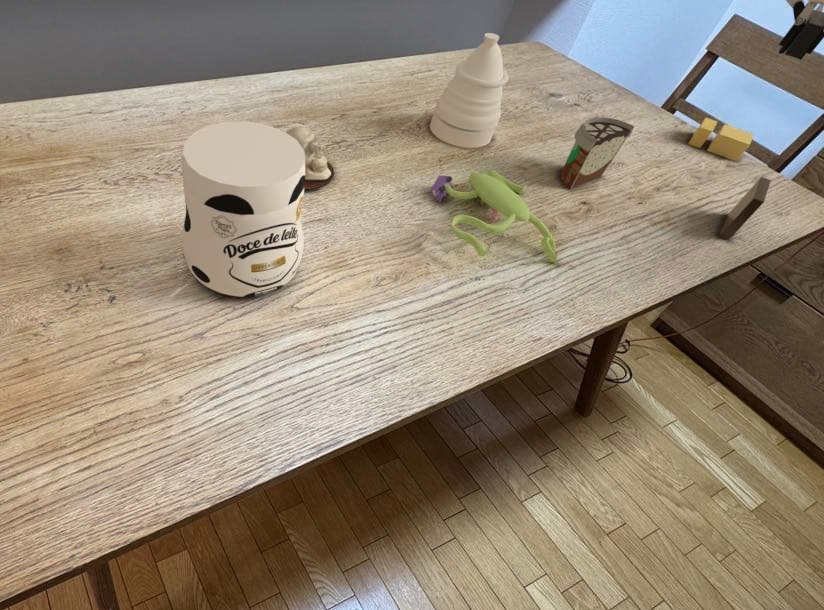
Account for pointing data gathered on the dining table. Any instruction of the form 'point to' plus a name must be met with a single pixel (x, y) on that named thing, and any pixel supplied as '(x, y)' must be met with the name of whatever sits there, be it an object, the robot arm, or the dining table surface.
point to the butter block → (730, 142)
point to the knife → (807, 33)
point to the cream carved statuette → (312, 158)
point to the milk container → (243, 207)
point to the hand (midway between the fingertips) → (791, 53)
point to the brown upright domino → (745, 208)
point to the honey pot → (472, 98)
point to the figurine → (493, 207)
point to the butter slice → (703, 132)
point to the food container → (594, 149)
